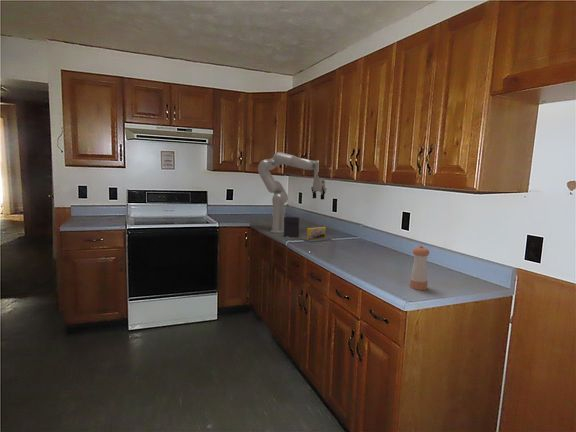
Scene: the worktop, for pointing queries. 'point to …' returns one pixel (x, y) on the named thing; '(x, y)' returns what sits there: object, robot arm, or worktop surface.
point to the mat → (316, 239)
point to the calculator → (291, 226)
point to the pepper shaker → (419, 269)
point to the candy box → (316, 233)
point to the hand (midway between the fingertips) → (318, 198)
